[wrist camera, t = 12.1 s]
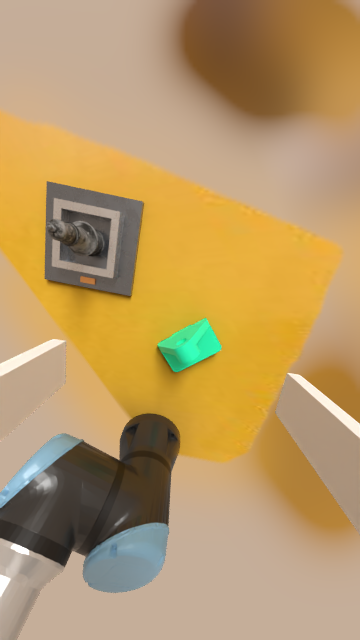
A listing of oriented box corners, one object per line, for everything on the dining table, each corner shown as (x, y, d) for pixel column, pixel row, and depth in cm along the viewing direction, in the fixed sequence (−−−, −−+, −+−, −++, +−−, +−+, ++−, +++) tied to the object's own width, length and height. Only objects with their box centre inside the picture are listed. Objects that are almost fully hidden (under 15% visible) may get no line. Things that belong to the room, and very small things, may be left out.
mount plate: (131, 295, 40) (126, 297, 36) (48, 278, 39) (35, 279, 36) (143, 203, 36) (139, 196, 32) (50, 183, 35) (36, 174, 32)
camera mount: (175, 368, 44) (173, 395, 34) (158, 341, 42) (151, 361, 32) (220, 344, 42) (232, 366, 32) (205, 316, 41) (212, 329, 31)
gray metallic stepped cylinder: (78, 257, 37) (29, 249, 26) (74, 225, 36) (22, 201, 24) (107, 258, 37) (72, 250, 25) (104, 226, 36) (66, 202, 24)
